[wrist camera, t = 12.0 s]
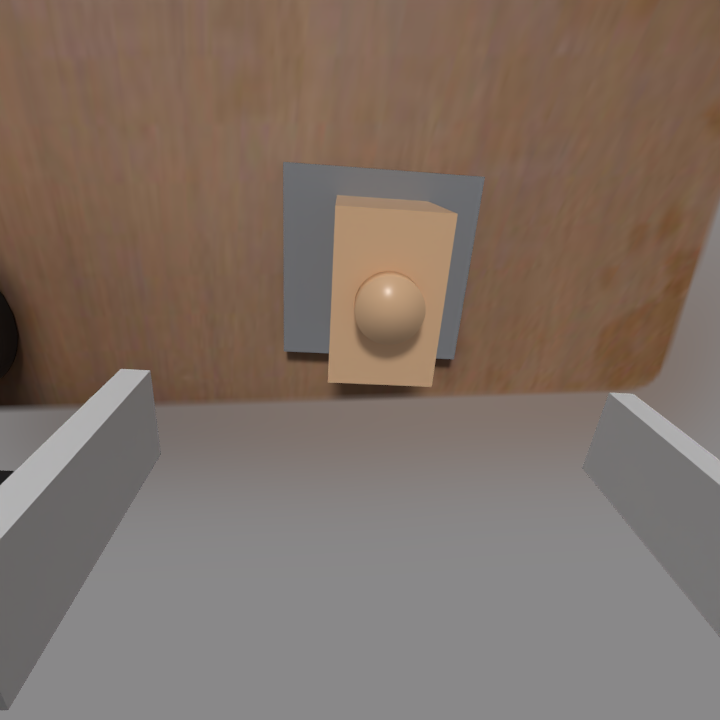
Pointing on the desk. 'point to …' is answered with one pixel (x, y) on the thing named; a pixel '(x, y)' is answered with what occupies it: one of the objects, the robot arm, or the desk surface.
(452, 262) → the grey square plate
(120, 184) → the desk surface
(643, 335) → the desk surface
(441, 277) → the tan block with dome
